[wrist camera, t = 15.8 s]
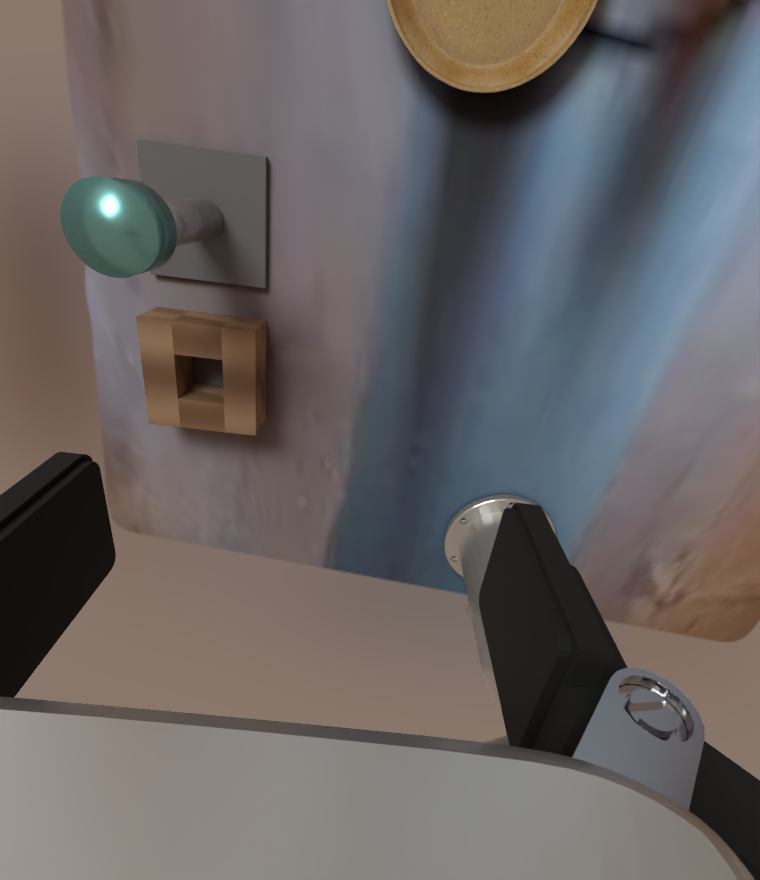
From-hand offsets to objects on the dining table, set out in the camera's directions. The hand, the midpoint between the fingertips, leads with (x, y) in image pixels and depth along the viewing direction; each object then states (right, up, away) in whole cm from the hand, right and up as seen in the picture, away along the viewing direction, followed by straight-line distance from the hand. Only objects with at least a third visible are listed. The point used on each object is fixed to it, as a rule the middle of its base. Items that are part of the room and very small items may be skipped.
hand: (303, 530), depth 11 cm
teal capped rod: (-13, +20, +28) cm, 37 cm away
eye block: (-14, +9, +34) cm, 38 cm away
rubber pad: (-13, +21, +28) cm, 37 cm away
